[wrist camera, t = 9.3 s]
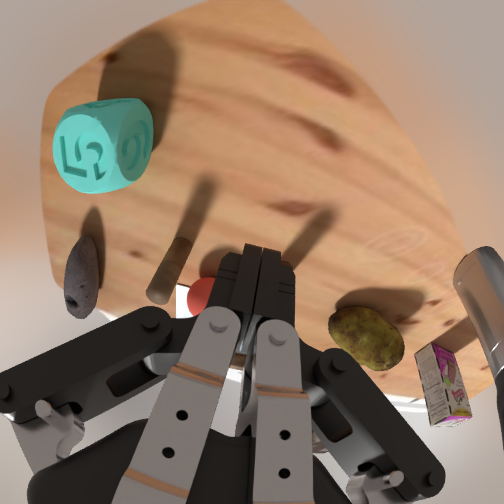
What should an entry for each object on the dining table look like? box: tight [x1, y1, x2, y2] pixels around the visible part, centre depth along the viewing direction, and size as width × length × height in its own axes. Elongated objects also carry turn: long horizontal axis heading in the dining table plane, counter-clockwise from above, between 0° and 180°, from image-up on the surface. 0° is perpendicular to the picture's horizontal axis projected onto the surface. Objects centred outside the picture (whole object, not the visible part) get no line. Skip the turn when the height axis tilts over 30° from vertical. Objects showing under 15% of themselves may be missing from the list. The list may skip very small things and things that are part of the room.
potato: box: [328, 307, 405, 371], centre depth 36 cm, size 8×13×8 cm, turn 47°
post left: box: [146, 238, 192, 305], centre depth 31 cm, size 3×3×9 cm
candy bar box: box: [414, 343, 472, 427], centre depth 38 cm, size 11×5×16 cm, turn 62°
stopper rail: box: [229, 354, 246, 371], centre depth 47 cm, size 16×1×2 cm, turn 78°
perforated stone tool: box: [64, 236, 99, 319], centre depth 36 cm, size 15×5×7 cm, turn 154°
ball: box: [187, 277, 215, 316], centre depth 36 cm, size 6×6×6 cm
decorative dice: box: [53, 98, 154, 193], centre depth 23 cm, size 8×8×8 cm
